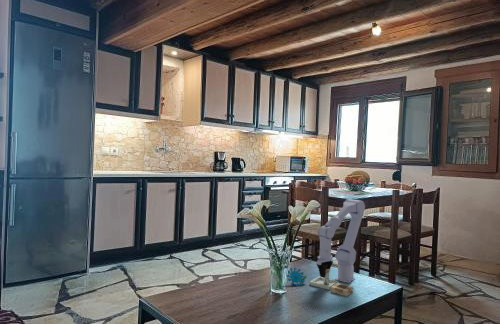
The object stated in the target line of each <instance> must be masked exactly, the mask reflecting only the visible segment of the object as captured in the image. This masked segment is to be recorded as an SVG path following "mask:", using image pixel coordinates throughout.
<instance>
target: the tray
mask: <svg viewBox="0 0 500 324" xmlns="http://www.w3.org/2000/svg"><path fill="white" fill-rule="evenodd" d="M337 283H339V280H335V279H332V278H329V285H324V284H323V277H320V275H318V276H317V277H315V278H313V279H312V280H310V281H309V286H311V287H316V288H319V287H320V289H323V290H326V289H327V290H326V291H331V290H330V289H331V287H332V286H333V285H335V284H337Z"/></svg>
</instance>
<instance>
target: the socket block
mask: <svg viewBox="0 0 500 324" xmlns="http://www.w3.org/2000/svg"><path fill="white" fill-rule="evenodd" d="M330 292H331V293H333V294H336V293H337V295H340V296H345V297H348V296H349V295H351V294H353V292H354V286H353V285H348V284H344V283H340V282H338V283H337V284H335V285H333V286H332V287H331V290H330Z"/></svg>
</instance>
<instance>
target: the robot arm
mask: <svg viewBox="0 0 500 324" xmlns="http://www.w3.org/2000/svg"><path fill="white" fill-rule="evenodd" d="M342 205H343V206H342V207H341V208H340V210H339V211H338V212H337V214H336V215H335V216H331V217H330V218H329V220H328V221H327V222H326V223H325V224H324V225H322V226H320V227H319V228H318V231H317V234H318V239H319V255H318V256H317V257H316V258H317V260H316V266H317V268H318V272H319V276H320V277H325V272H326V268H330V269H331V268H332V265H333V263H334V261H333V255H332V239H333V237H334V236H335V232H336V230H337V229H338V228H339V227H340V226H341V224H342V222H341V221H342V220H343V219H344V218H346V216H347V215H348V214H349V215H350V217H351V218H350V221H349V225H348V228H347V230H346V235H345V238H344V241H343V243H342V244H341V245H339V246H338V248H337V250H336V252H335V254H334V257H335V259H336V261H337V277H335V278H334V280H336V281H338V282H343V283H347V284H349V283H351V282H352V281H354V280H355V279H356V277H354V274H355V266H354V263H355V262H356V257H357V251H356V249H355V248H354V245H355V242H356V239H357V236H358V234H359V233H358V232H359V229H360V227H361V226H360V225H361V222H362V219H363V216H364V213H365V210H366V204H365V202H364V201H363V200H359V199H350V198H346V199H345V201H343V203H342Z"/></svg>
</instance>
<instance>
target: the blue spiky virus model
mask: <svg viewBox="0 0 500 324" xmlns="http://www.w3.org/2000/svg"><path fill="white" fill-rule="evenodd" d="M287 271H288V273H287V274H288V275H287V274H286V278H288V279H287V281H288V282H290V284H291V285H292V286H293V285H294V284H295V286H296V287H298V286H303V284H304V283H305V280H306V279H307V278H308V275H304V274H305V273H304V272H303V271H301V269H300V268H298V269H297V267H291V268H289V269H288V270H287Z"/></svg>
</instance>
